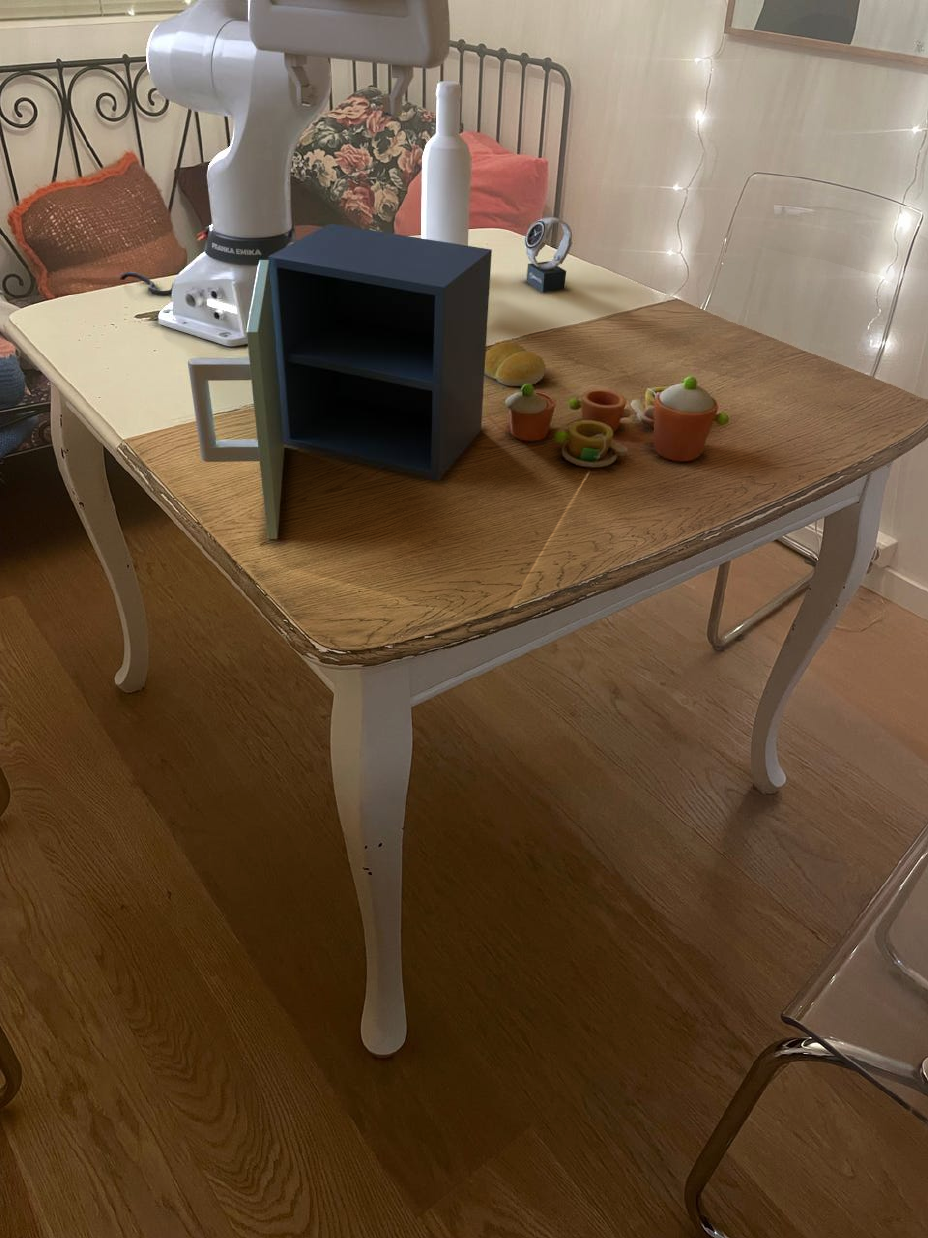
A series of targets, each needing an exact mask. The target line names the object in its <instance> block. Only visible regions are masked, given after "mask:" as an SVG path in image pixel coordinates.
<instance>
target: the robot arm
mask: <svg viewBox="0 0 928 1238" xmlns="http://www.w3.org/2000/svg"><path fill="white" fill-rule="evenodd" d="M450 23H451V22H450V8H449V0H196V1H195V2H194V3H192V4H191V5H190V6H188V7H187V8H186V9H184V10H183V11H181V12H179V13H178V14H175V15H173V16H171V17H169V18H167V19H163V20H162V21H160V22H159V23H157V25H156V26H155V27H154V28H153V29H152V32H151V33H150V36H149V39H148V42H147V46H146V47H147V48H146V63H147V70H148V73H149V77H150V78H151V81H152V84H153V85H154V86H153V87H155V89H156V90H157V92H158V93H159V95H161V96H162V97H163V99H166V101H167V100H168V101H169V102H171V103H174V104H176V105H179V106H181V107H183V108H186V109H188V110H190V111H192V112H196V113H202V114H206V115H207V114H208V115H214V116H221V117H227V118H232V122H233V131H232V140H231V143H230V146H229V147H227V148H225V149H224V150H223V151H220V152H219V153H218V154H216V156H215V157H214V158H213V159H212V161H210V163H209V165H208V167H207V172H206V180H207V190H208V201H209V208H210V215H211V216H210V217H211V225H209V226H207V227H205V228H204V230H203V231H199V232H198V233H196V236H199V237H198V238H197V242H198V243H200V242H203V241H206V242H205V245H204V250H203V252H202V253H201V254H200V255H199V256H197V257H196V258H195V259H194V260H193V261H192V262H190V263H189V264H188V265H187V266H186V267H184V269H182V270H180V272H179V273H178V274H177V275H176V276H175V277H174V279H173V282H172V285H171V288H170V289H168V290H161V289H156V288H155V286H156V285H155V283H154V282H153V281H152V280H150V279H149V278H147V277H146V276H144V275H142V274H140V273H137V272H134V271H133V272H132V271H126V272H124V273H122V274H121V275H120V276H119V280H121V281H123V280H126V279H127V278H128V277H131V278H135V279H138V280H140V281H142V282H143V283H146V284H147V285H148V287H147V289H148V292H150V293H151V294H155V295H157V296H171V302H170V303H169V304H168V305H166V306H165V307H164V308H163V309H161V310H160V311H159V314H158V317H157V319H158V321H157V323H158V324H159V325H161V326H164V327H167V328H171V329H173V330H176V331H179V332H182V333H186V334H189V335H190V336H191V335H192V336H195V337H198V338H200V339H204V340H206V341H207V340H208V341H210V342H214V343H216V344H220V345H222V346H226V347H237V346H243V345H248V342H247V327H248V321H249V316H250V310H251V305H252V299H253V294H254V288H255V283H256V277H257V271H258V266H259V261H260V260H268V256H270V255H272V254H274V253H276V252H278V251H280V250H281V249H283V248H285V247H287V246H289V245H291V244H293V243H295V242H296V241H297V236H296V235H297V234H296V227H295V225H293V222H292V220H293V219H292V202H291V199H292V198H291V173H292V163H293V159H294V155H295V151H296V149H297V146H298V144H299V141H300V139H301V137H302V135H303V133H304V132H305V131H306V129H307V128H309V126H310V125H311V124H313V123H314V121H316V120H317V119H318V118H319V117H320V116H321V115H322V113H323V112H324V110H325V108H326V107H327V105H328V103H329V100H330V96H331V92H332V86H333V85H332V82H333V81H332V79H333V78H332V77H333V76H332V71H331V65H330V60H329V59H335V60H343V61H344V60H345V61H352V62H353V61H354V62H362V63H372V64H381V65H391V78H392V79H396V81H395V83H394V86H393V88H392V89H391V92H390V93H388V94H385V95H383V96H381V106H382V108H381V115H382V117H386V118H387V117H388V118H395V119H397V118H399V117H402V114H403V97H404V96H405V94H406V92H407V90H408V88H409V86H410V84H411V82H412V80H413V78H414V68H417V69H427V70H431V69H435V68H438V67H440V66H442V65H443V64H444V62H445V61H446V60H447V58H448V57H449V55H450V54H449V53H450V47H451V25H450Z"/></svg>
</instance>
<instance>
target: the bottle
mask: <svg viewBox="0 0 928 1238" xmlns="http://www.w3.org/2000/svg"><path fill="white" fill-rule="evenodd" d="M436 86H437V87H436V92H435V96H436V119H435V120H436V122H435V123H436V124H435V125H436V126H435V134H434V135H433V136H432V137H431V138H430V139H429V140H428V141H427V142H426V144H425V147H424V150H423V154H422V157H421V161H422V163H421V165H422V166H421V218H420V219H421V220H420V221H421V224H420V225H421V226H420V227H421V228H420V229H421V230H420V231H421V233H420V238H423V239H429V240H435V241H441V242H447V243H454V244H460V245H466V246H469V229H470V228H469V227H470V207H471V185H472V184H471V182H472V155H471V151H470V148H469V144H468V143H467V142H466V141H465V139H464V138H463V137H462V136H461V134H460V128H461V103H462V102H461V99H462V96H463V94H462V84H460V82H458V81H451V80H443V81H439V82H438V83H437V85H436Z"/></svg>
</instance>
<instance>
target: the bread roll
mask: <svg viewBox="0 0 928 1238" xmlns="http://www.w3.org/2000/svg"><path fill="white" fill-rule="evenodd" d="M545 374H546V364H545V361H544V359H543V357H542V356H541V355H540V354H538V353H536V352H532V351H528V349H526V348H525V347H524V346H522V345H520V344H518V343H516V342H511V341H510V342H509V341H504V342H500V343H497V344H495V345H493V346H492V347H491V348H489V349H488V350H486V356H485V372H484V375H486V376H488V377H489V378H491V379H493V380H496V381H497V382H498V383H499V384H502V385H505V386H508V387H522V386H523V385H524V384H531V385H532V386H533V385H535V384H537V383H539V382H540V381H541V380H543V378H544V376H545Z"/></svg>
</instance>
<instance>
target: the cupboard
mask: <svg viewBox="0 0 928 1238" xmlns="http://www.w3.org/2000/svg"><path fill="white" fill-rule="evenodd" d="M492 252H493V249H491V248H483V247H478V246H471V245H468V246H466V245H460V244H454V243H447V242H441V241H435V240H429V239H423V238H421V237H416V236H410V235H403V234H397V233H390V232H385V231H378V230H372V229H365V228H360V227H354V226H349V225H341V224H334V223H329V224H327V225H325V226H323V227H321V228H319V229H317V230H315V231H314V232H311V233H310V234H307V235H306V236H304V237H302V238H300V239H298V240H296V242H295V243H293V244H291V245H289V246H287V247H285V248H283V249H281V250H280V251H278V252H276V253H274V254H272V255H270V256H268V260H269V265H270V277H271V289H272V301H273V313H274V325H275V337H276V349H277V362H278V374H279V386H280V398H281V410H282V422H283V434H284V446H288V447H291V448H295V449H301V450H305V451H309V452H313V453H318V454H323V455H327V456H331V457H334V458H339V459H344V460H347V461H351V462H356V463H360V464H366V465H369V466H373V467H378V468H383V469H386V470H391V471H395V472H399V473H404V474H407V475H412V476H416V477H421V478H424V479H425V478H426V479H430V480H433V481H440V480H441V479H442V477H443V476H444V475H445V474H446V473H447V471H448V470H449V469H450V468H451V467H452V465H454V463H455V462H456V461H457V460H458V458H459V457H460V456H461V455H462V454H463V452H464V451H465V450H467V447H468V446H469V445H470V444H471V443H472V442H473V441H474V439H475V438H476V437H477V436H478V435H479V433H481V431H482V420H483V405H484V390H485V389H484V386H485V373H484V372H485V356H486V352H487V336H488V319H489V306H490V305H489V303H490V286H491V270H492V254H493V253H492Z"/></svg>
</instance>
